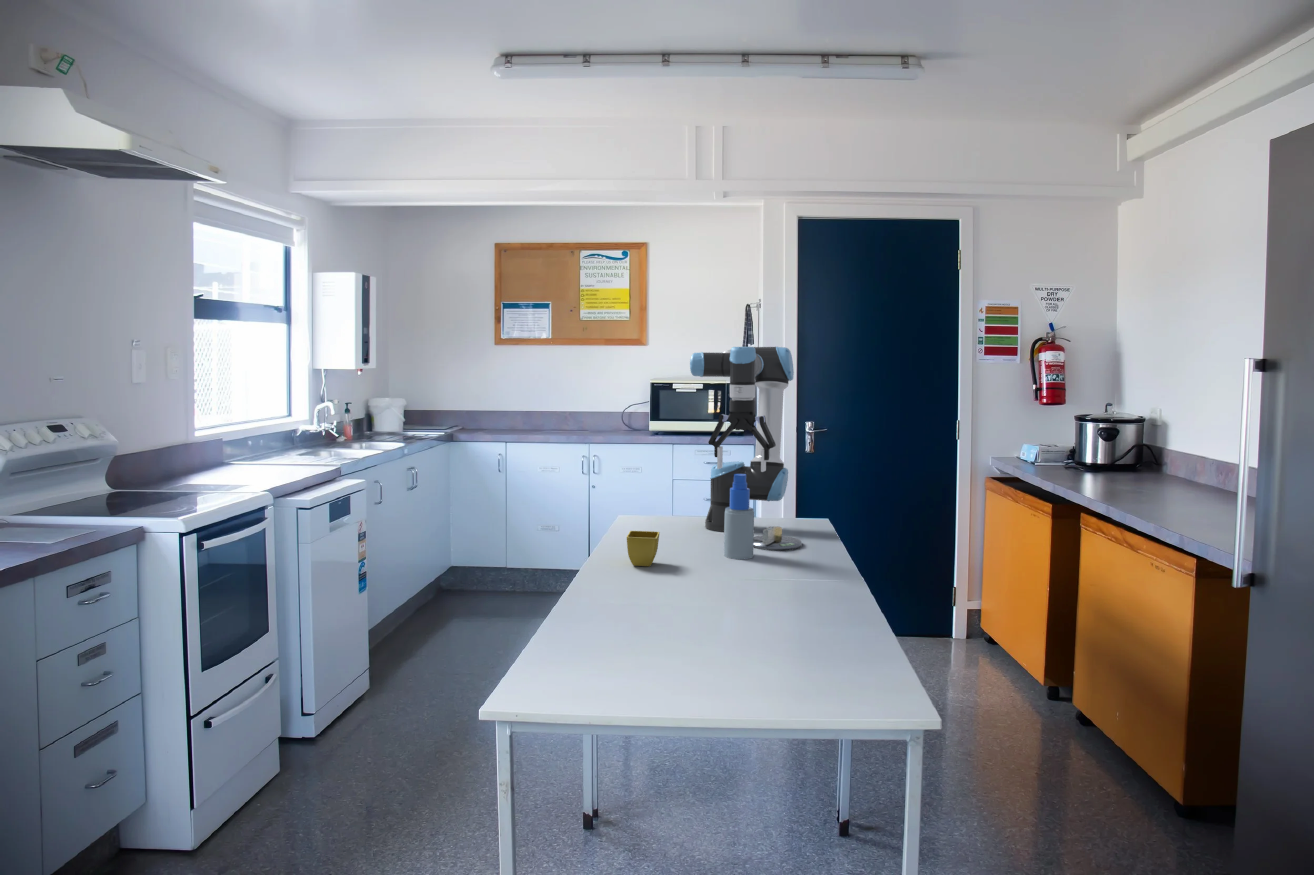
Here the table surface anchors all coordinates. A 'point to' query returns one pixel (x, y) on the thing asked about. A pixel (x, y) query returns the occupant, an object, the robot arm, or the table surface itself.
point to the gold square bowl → (642, 547)
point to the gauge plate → (778, 544)
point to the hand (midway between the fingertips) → (741, 469)
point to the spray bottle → (739, 521)
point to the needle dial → (772, 534)
